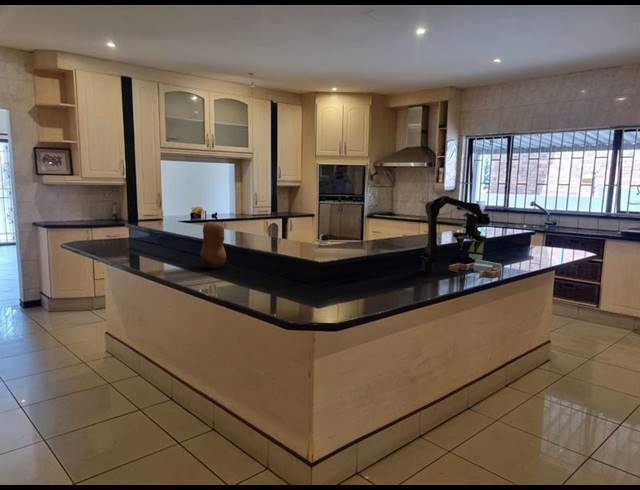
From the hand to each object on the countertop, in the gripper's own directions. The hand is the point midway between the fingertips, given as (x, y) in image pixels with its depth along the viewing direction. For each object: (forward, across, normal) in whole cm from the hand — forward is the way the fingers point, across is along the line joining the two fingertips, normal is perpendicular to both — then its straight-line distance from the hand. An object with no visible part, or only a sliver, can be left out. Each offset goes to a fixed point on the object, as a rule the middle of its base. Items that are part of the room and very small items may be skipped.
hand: (468, 251), depth 262 cm
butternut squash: (+15, +79, +121) cm, 145 cm away
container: (+13, +81, +40) cm, 91 cm away
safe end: (+11, -6, -14) cm, 19 cm away
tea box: (+11, +22, -40) cm, 47 cm away
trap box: (+11, -6, -3) cm, 13 cm away
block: (+12, -6, -9) cm, 16 cm away
